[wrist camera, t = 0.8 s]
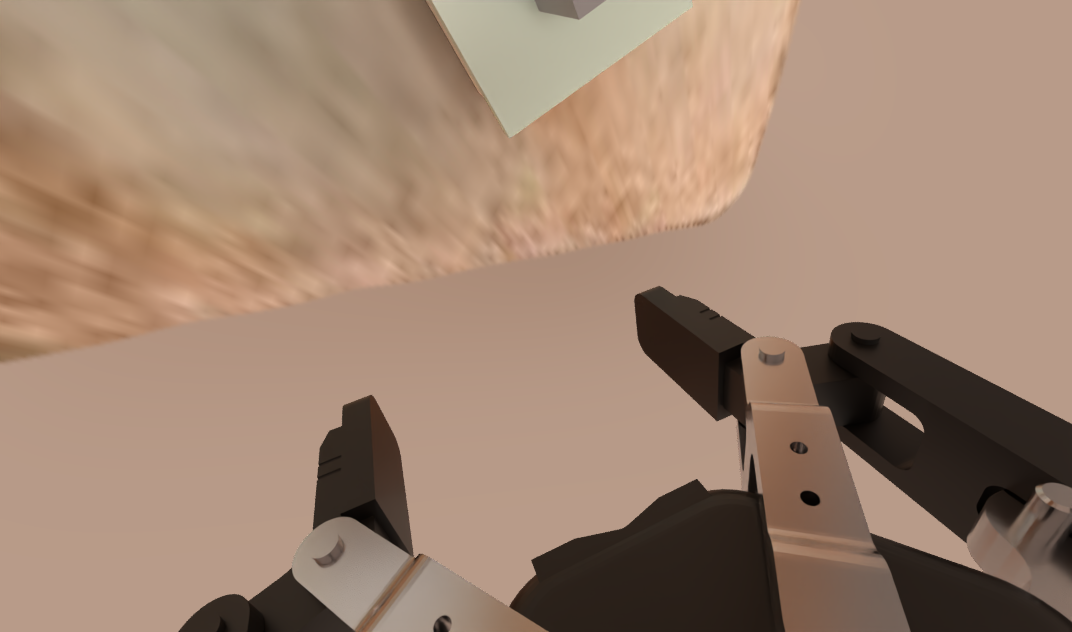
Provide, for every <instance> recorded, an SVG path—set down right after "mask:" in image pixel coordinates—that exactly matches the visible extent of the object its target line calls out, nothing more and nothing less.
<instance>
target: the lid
mask: <svg viewBox="0 0 1072 632" xmlns="http://www.w3.org/2000/svg"><path fill="white" fill-rule="evenodd" d="M429 2H430V4H431V6H432V7H433V9H434V11H435V13H436V14H437V16H438V18H439V20H440V21H441V23H442V25H443V27H444V28H445V30H446V32H447V34H448V35H449V37H450V39H451V41H452V42H453V44H454V46H455V48H456V49H457V51H458V53H459V55H460V56H461V58H462V60H463V62H464V63H465V65H466V67H467V69H468V70H469V72H470V74H471V76H472V77H473V79H474V81H475V83H476V84H477V86H478V88H479V90H480V91H481V93H482V95H483V97H484V98H485V100H486V102H487V104H488V105H489V107H490V109H491V111H492V112H493V114H494V116H495V118H496V119H497V121H498V123H499V125H500V126H501V128H502V130H503V132H504V133H505V135H506V136H508V137H509V138H511V137H513V136H514V135H516V134H517V133H518V132H520V131H521V130H523V129H524V128H525V127H527V126H528V125H529V124H531V123H532V122H534V121H535V120H536V119H538V118H539V117H541V116H542V115H543V114H545V113H546V112H547V111H549V110H550V109H552V108H553V107H554V106H556V105H557V104H559V103H560V102H561V101H563V100H564V99H566V98H567V97H568V96H570V95H571V94H572V93H574V92H575V91H577V90H578V89H579V88H581V87H582V86H584V85H585V84H586V83H588V82H589V81H591V80H592V79H593V78H595V77H596V76H597V75H599V74H600V73H602V72H603V71H604V70H606V69H607V68H609V67H610V66H611V65H613V64H614V63H615V62H617V61H618V60H620V59H621V58H622V57H624V56H625V55H627V54H628V53H629V52H631V51H632V50H634V49H635V48H636V47H638V46H639V45H640V44H642V43H643V42H645V41H646V40H647V39H649V38H650V37H652V36H653V35H654V34H656V33H657V32H659V31H660V30H661V29H663V28H664V27H665V26H667V25H668V24H670V23H671V22H672V21H674V20H675V19H677V18H678V17H679V16H681V15H682V14H683V13H685V12H686V11H688V10H689V9H690V8H692V7H693V4H692V0H429Z"/></svg>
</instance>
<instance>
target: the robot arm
mask: <svg viewBox="0 0 1072 632" xmlns="http://www.w3.org/2000/svg"><path fill="white" fill-rule="evenodd" d="M634 302H635V313H636V324H637V334H638V340H639V343H640V345H641V347H642V349H643V351H644V352H645V354H646V355H647V356H648V357H649V358H650V359H651V360H652V361H654V362H655V363H656V364H657V365H658V366H659V367H660V368H661V369H662V370H663V371H664V372H665V373H666V374H667V375H668V376H670V377H671V378H672V379H673V380H674V381H675V382H676V383H677V384H678V385H679V386H680V387H681V388H682V389H683V390H684V391H685V392H686V393H688V394H689V395H690V396H691V397H692V398H693V399H694V400H695V401H696V402H697V403H698V404H699V405H700V406H701V407H702V408H703V409H705V410H706V411H707V412H708V413H709V414H710V415H711V416H712V417H713V418H714V419H715V420H716V421H719V420H721V419H723V418H726V417H728V416H730V415H733V416H734V417H735V418H736V419H737V439H738V450H739V461H740V472H741V485H742V491H740V490H727V489H721V490H710V491H707V490H706V489H705V488H704V487H703V485H702V484H701V483H700V482H699V481H698V480H697V479H696V480H694V481H692V482H690V483H688V484H686V485H684V486H682V487H680V488H677V489H676V490H673V491H671V492H669V493H667V494H665V495H663V496H661V497H659V498H658V499H657V500H656V501H654V502H653V503H652V504H651V505H650V506H649V507H648V508H647V509H645V510H644V511H643V512H642V513H641V514H640V515H639V516H638V517H636V518H635V519H634V520H633V521H632V522H631V523H630V524H629V525H627V526H626V527H624V528H622V529H619V530H615V531H610V532H605V533H600V534H596V535H591V536H586V537H581V538H576V539H574V540H571V541H569V542H567V543H565V544H563V545H561V546H559V547H557V548H555V549H553V550H551V551H549V552H547V553H545V554H543V555H541V556H538V557H536V558H534V559H533V560H531V561H532V564H533V566H534V569H535V571H536V575H535V576H534V577H533V578H532V579H531V580H530V581H528V583H527V584H526V585H525V586H524V587H523V588H522V589H521V590H520V591H519V593H518V594H517V595H516V597H515V598H514V600H513V601H512V603H511V604H510V606H509V607H508V606H507V605H505V604H504V603H502V602H500V601H499V600H497V599H496V598H494V597H492V596H491V595H489V594H488V593H486V592H484V591H483V590H481V589H480V588H478V587H476V586H475V585H473V584H472V583H470V582H468V581H467V580H465V579H464V578H462V577H461V576H459V575H457V574H456V573H454V572H453V571H451V570H449V569H448V568H446V567H445V566H443V565H441V564H440V563H438V562H437V561H435V560H433V559H432V558H430V557H428V556H426V555H424V554H419V555H418V556H417V557H416V558H414V555H413V548H412V540H411V532H410V524H409V516H408V509H407V501H406V493H405V486H404V478H403V471H402V462H401V455H400V450H399V447H398V444H397V441H396V438H395V436H394V434H393V432H392V430H391V428H390V426H389V424H388V423H387V421H386V419H385V417H384V415H383V413H382V411H381V410H380V407H379V405H378V404H377V402H376V400H375V398H374V397H373V396H372V395H369V396H367V397H364V398H362V399H359V400H356V401H354V402H351V403H348V404H346V405H344V406H343V411H342V414H343V415H342V426H341V427H338V428H336V429H333V430H331V431H329V432H328V434H327V436H326V438H325V440H324V441H323V444H322V445H321V447H320V452H319V467H318V475H317V478H318V481H317V487H316V499H315V511H314V522H313V531H312V532H311V533H310V534H309V535H308V536H307V537H306V538H305V539H304V540H303V542H302V543H301V544H300V546H299V547H298V549H297V551H296V553H295V556H294V559H293V563H292V568H291V569H290V570H289V571H288V572H287V573H285V574H284V575H283V576H282V577H281V578H279V579H278V580H277V581H275V582H274V583H272V584H271V585H270V586H269V587H267V588H266V589H264V590H263V591H262V592H261V593H259V594H258V595H256V596H255V597H253V598H252V599H251V600H249V601H247V600H246V599H245V598H244V597H243V596H241V595H237V594H232V595H226V596H222V597H220V598H217V599H215V600H213V601H212V602H210V603H208V604H207V605H205V606H204V607H202V608H201V609H200V610H199V611H197V612H196V613H195V614H194V615H193V616H192V617H191V618H190V619H189V620H188V621H187V622H186V623H185V624H184V626H183V627H182V628H181V629H180V630H179V632H1072V424H1071V423H1069V422H1067V421H1065V420H1063V419H1061V418H1059V417H1057V416H1055V415H1053V414H1051V413H1049V412H1047V411H1045V410H1044V409H1041V408H1040V407H1038V406H1036V405H1034V404H1032V403H1030V402H1028V401H1026V400H1024V399H1022V398H1020V397H1018V396H1016V395H1014V394H1013V393H1011V392H1009V391H1007V390H1005V389H1003V388H1001V387H999V386H997V385H995V384H993V383H991V382H989V381H987V380H985V379H983V378H981V377H980V376H978V375H976V374H974V373H972V372H970V371H968V370H966V369H964V368H962V367H960V366H958V365H956V364H954V363H952V362H950V361H948V360H947V359H945V358H943V357H941V356H939V355H937V354H935V353H933V352H931V351H929V350H927V349H925V348H923V347H921V346H919V345H917V344H915V343H914V342H912V341H910V340H908V339H906V338H904V337H902V336H900V335H898V334H896V333H894V332H892V331H890V330H888V329H886V328H884V327H881V326H878V325H875V324H870V323H863V322H851V323H845V324H841V325H839V326H837V327H835V328H834V329H833V330H832V332H831V336H830V342H829V343H827V344H820V345H814V346H809V347H802V348H800V347H798V346H797V345H796V344H794V343H793V342H791V341H789V340H786V339H783V338H778V337H769V336H766V337H757V338H755V337H754V336H752V335H751V334H749V333H747V332H746V331H744V330H743V329H741V328H740V327H738V326H736V325H735V324H733V323H732V322H730V321H729V320H727V319H726V318H724V317H723V316H721V317H720V315H719V314H718V313H716V312H715V311H713V310H710V309H709V307H707V306H705V305H704V304H703V303H701V302H699V301H698V300H695V299H692V298H689V297H685V296H681V295H679V296H677V297H676V296H674V295H673V294H671V293H670V292H668V291H667V290H665V289H664V288H663V287H660V286H658V287H655V288H652V289H650V290H647V291H645V292H642V293H639V294H637V295H636V296H635V300H634ZM886 396H887V397H889V398H890V399H892V400H893V401H895V402H896V403H898V404H899V405H901V406H903V407H904V408H906V409H907V410H909V411H910V412H912V413H913V414H914V415H916V417H917V418H918V419H919V420H920V421H921V423H922V425H923V428H924V433H923V432H922V431H921V430H919V429H918V428H916V427H915V426H913V425H912V424H910V423H908V422H907V421H906V420H904V419H903V418H901V417H900V416H898V415H897V414H895V413H894V412H892V411H891V410H889V409H888V408H886V407H885V406H883V404H884V400H885V397H886ZM841 441H842V442H843V443H844V444H845V445H847V446H848V447H849V448H850V449H851V450H853V451H854V452H855V453H856V454H858V455H859V456H860V457H861V458H862V459H864V460H865V461H866V462H868V463H869V464H870V465H871V466H872V467H874V468H875V469H876V470H877V471H878V472H880V473H881V474H882V475H883V476H885V477H886V478H887V479H888V480H889V481H891V482H892V483H893V484H894V485H896V486H897V487H898V488H899V489H901V490H902V491H903V492H904V493H905V494H907V495H908V496H909V497H910V498H912V499H913V500H914V501H915V502H917V503H918V504H919V505H920V506H921V507H923V508H924V509H925V510H926V511H928V512H929V513H930V514H931V515H933V516H934V517H935V518H936V519H937V520H939V521H940V522H941V523H942V524H944V525H945V526H946V527H947V528H949V529H950V530H951V531H952V532H954V533H955V534H956V535H957V536H958V537H960V538H961V539H962V540H963V541H965V542H966V543H967V546H968V549H969V552H970V554H971V556H972V557H973V559H974V560H975V562H976V563H977V564H978V565H979V567H980V568H982V570H983V571H982V572H981V571H978V570H975V569H972V568H969V567H966V566H963V565H961V564H958V563H955V562H952V561H949V560H946V559H943V558H940V557H938V556H935V555H932V554H929V553H926V552H923V551H920V550H918V549H915V548H912V547H909V546H906V545H903V544H900V543H897V542H895V541H892V540H889V539H886V538H883V537H880V536H877V535H875V534H872V533H870V532H869V529H868V525H867V522H866V519H865V516H864V513H863V510H862V507H861V504H860V501H859V497H858V494H857V491H856V488H855V485H854V482H853V479H852V476H851V472H850V469H849V466H848V463H847V460H846V457H845V454H844V451H843V447H842V444H841Z"/></svg>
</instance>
